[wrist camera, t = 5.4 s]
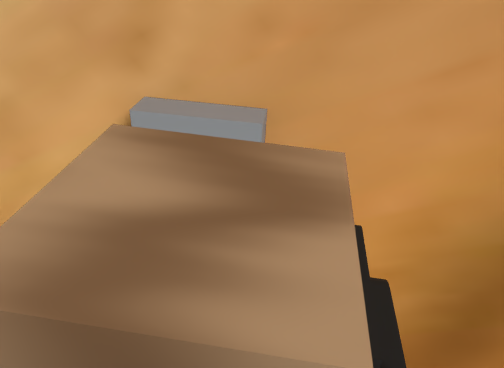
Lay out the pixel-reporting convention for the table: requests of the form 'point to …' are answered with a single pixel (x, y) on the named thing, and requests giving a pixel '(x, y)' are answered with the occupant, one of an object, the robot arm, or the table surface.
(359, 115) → the table surface
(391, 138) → the table surface
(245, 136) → the grey rectangular block
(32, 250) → the walnut cube
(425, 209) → the table surface
